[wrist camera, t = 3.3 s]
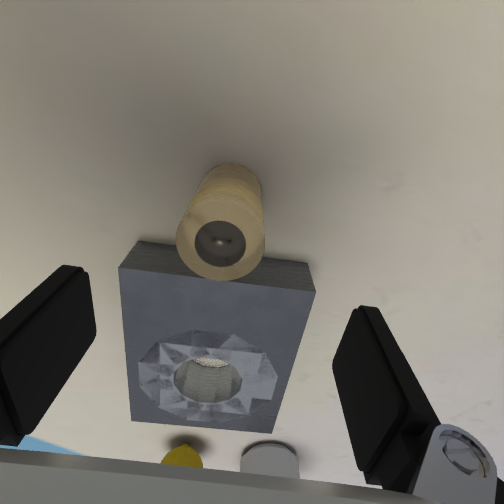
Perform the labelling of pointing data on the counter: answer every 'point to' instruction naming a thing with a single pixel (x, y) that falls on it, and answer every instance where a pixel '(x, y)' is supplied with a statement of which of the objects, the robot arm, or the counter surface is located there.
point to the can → (270, 461)
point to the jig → (210, 339)
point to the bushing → (223, 225)
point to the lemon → (183, 457)
